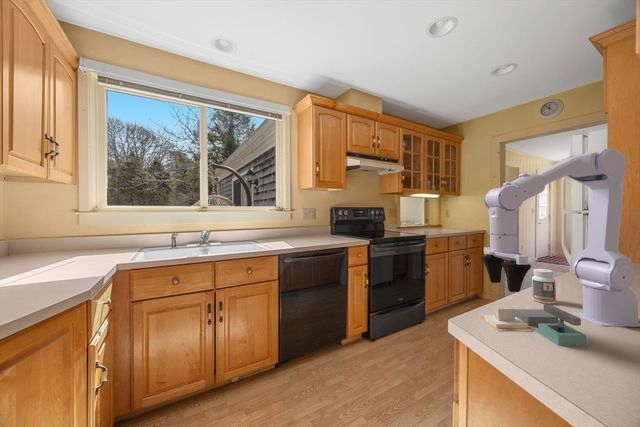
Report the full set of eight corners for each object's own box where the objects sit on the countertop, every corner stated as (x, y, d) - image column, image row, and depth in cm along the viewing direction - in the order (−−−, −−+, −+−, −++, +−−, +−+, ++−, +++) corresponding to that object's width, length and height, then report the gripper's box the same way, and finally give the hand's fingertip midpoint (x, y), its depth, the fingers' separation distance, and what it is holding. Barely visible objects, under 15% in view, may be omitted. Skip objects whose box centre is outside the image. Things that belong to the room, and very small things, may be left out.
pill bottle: (560, 305, 78) (560, 272, 78) (539, 304, 79) (538, 272, 79) (548, 298, 83) (547, 268, 83) (528, 297, 84) (527, 268, 84)
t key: (542, 330, 62) (541, 304, 62) (551, 330, 62) (551, 304, 62) (572, 348, 54) (571, 318, 54) (583, 348, 54) (582, 318, 54)
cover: (513, 318, 68) (513, 304, 68) (528, 328, 63) (527, 312, 63) (484, 318, 69) (484, 304, 69) (496, 328, 64) (496, 312, 64)
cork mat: (511, 318, 70) (511, 316, 70) (533, 332, 62) (533, 330, 62) (480, 318, 70) (480, 316, 70) (498, 332, 62) (498, 330, 62)
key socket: (563, 333, 61) (563, 323, 61) (588, 347, 55) (588, 335, 55) (536, 333, 61) (536, 323, 61) (558, 346, 55) (557, 335, 55)
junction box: (542, 318, 69) (542, 309, 69) (558, 326, 64) (557, 317, 64) (515, 318, 70) (514, 309, 70) (528, 326, 65) (528, 316, 65)
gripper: (472, 232, 73) (473, 279, 73) (504, 237, 59) (506, 296, 59) (498, 231, 73) (499, 279, 73) (537, 236, 58) (538, 296, 58)
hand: (504, 286), depth 66 cm, fingers open, 7 cm apart
